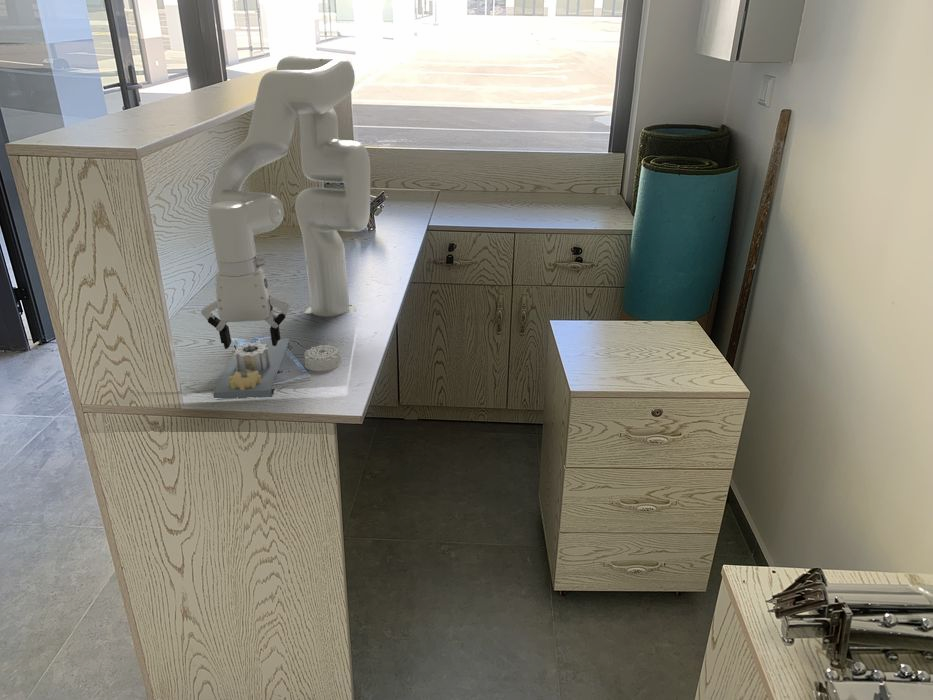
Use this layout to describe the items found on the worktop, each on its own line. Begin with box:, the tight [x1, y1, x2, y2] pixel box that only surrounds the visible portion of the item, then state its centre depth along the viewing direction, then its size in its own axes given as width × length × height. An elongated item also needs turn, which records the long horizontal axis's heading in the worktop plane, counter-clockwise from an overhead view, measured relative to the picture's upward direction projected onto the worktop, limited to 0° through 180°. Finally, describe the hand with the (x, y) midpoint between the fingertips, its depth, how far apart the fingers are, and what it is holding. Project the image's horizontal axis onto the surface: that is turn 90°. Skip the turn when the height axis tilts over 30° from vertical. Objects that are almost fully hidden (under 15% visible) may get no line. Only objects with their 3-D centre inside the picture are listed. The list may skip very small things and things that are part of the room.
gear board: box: [212, 338, 291, 399], centre depth 145 cm, size 25×11×4 cm, turn 5°
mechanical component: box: [303, 344, 343, 372], centre depth 146 cm, size 10×4×10 cm
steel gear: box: [232, 342, 271, 372], centre depth 144 cm, size 7×7×4 cm
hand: (251, 344), depth 143 cm, fingers open, 9 cm apart
